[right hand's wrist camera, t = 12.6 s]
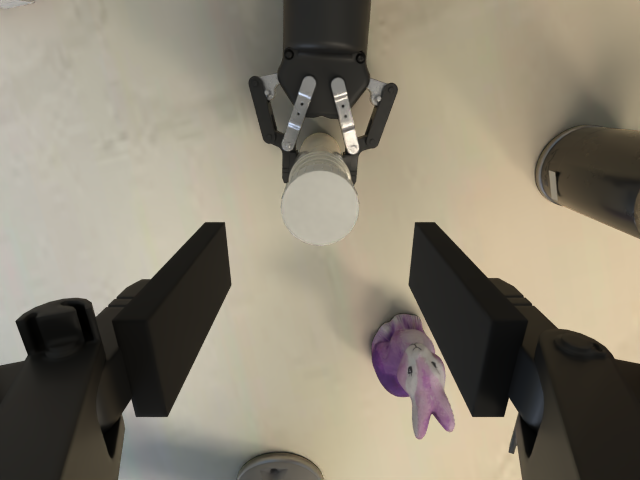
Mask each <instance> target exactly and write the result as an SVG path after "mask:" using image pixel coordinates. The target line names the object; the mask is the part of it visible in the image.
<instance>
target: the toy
mask: <svg viewBox="0 0 640 480" xmlns="http://www.w3.org/2000/svg"><path fill="white" fill-rule="evenodd" d="M32 3H35V2H34V0H0V8H8V9H9V8H14V7H18V6H23V5H27V4H32Z"/></svg>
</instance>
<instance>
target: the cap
mask: <svg viewBox="0 0 640 480" xmlns="http://www.w3.org/2000/svg"><path fill="white" fill-rule="evenodd" d="M357 195H358V194H357V192H356V189H355V187H354V185H353V183H352V180H350V179H349V178H348V176H347V174H346V173H344V172H342V171H341V170H340V168H336V167H334V166H332V165H328V164H323V163H322V164H315V163H313V164H312V165H309V166H305V167H304V168H302V169H300V170H298V171H297V172H296V173H295V174H294V175H293V176H291V179H290V181H289V183H288V182H287V185H286V187H285V191H284V193H283V196H282V202H281V213H282V218H283V221H284V223H285V225H286V227H287V228H288V230H289V231H290V232H291V233H292V234H293V235H294V236H295V237H296V238H298V239H299V240H301V241H303V242H305V243H308V244H312V245H329V244H333V243H335V242H337V241H339V240H341V239H343V238H344V237H345V236H346V235H347V234H349V232H350V231H351V230H352V229H353V227H354V226H355V223H356V221H357V218H358V214H359V201H358V198H357Z"/></svg>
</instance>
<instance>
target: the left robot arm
mask: <svg viewBox="0 0 640 480" xmlns="http://www.w3.org/2000/svg"><path fill="white" fill-rule="evenodd" d="M370 8H371V0H284V11H283V59H282V63H281V65H280V67H279V69H278V72H277V73H275V74H271V75H267V76H262V77H258V76H253V77H251V78H250V79H249V87H250V91H251V95H252V99H253V102H254V106H255V110H256V114H257V117H258V121H259V125H260V129H261V133H262V136H263V140H264V141H265V142H266V143H268V144H273V145H275V146H278V147H279V148H280V149H281V150H282V153H283V163H282V178H283V181H284V183H287V182H288V183H289V175H290V172H291V169H292V167H293V165H294V162H295V160H296V157H297V155H298V150H296V141H297V139H298V136H299V133H300V130H301V128H302V125H303V122H304V119H305V117H310V118H314V117H319V116H324V117H327V118H330V119H338V121H339V124H340V128H341V132H342V135H343V139H344V143H345V152H343V157H344V160H345V162H346V164H347V167H348V169H349V172H350V175H351V180H352V183H353V185H354V184H355V182H356V175H357V164H358V156H359V154H360V153H361V152H362V151H364V150H367V149H370V148H375V147H377V145H378V143H379V141H380V138H381V135H382V133H383V130H384V127H385V124H386V122H387V119H388V116H389V113H390V111H391V108H392V105H393V103H394V100H395V97H396V94H397V91H398V88H397V86H396V84H394V83H388V84H386V83H383V82H381V81H378V80H375V79H372V78H370V74H369V71H368V69H367V65H366V55H367V43H368V32H369V20H370ZM279 84H280V85H281V87H282V88H283V90H284V91H285V93H286V94H287V96H288V98H289V99H290V101H291V102H292V104H293V105H294V108H293V111H292V114H291V117H290V120H289V123H288V126H287V129H286V132H285V134H284V133H281V132H279V131H277V127H276V123H275V119H274V115H273V111H272V107H271V103H270V100H272V99H273V98H274V97H275V94H276V93H275V89H276V87H277V86H278V85H279ZM366 89H368V90H369V92H370V102H371V104H373V105H375V106H374V109H373V112H372V115H371V118H370V121H369V124H368V126H367V129H366V132H365V135H363V136H360V137H357V135H356V131H355V125H354V121H353V117H352V112H351V108H352V107H353V105H354V104H355V103H356V101H357V100H358V99H359V98H360V96H361V95H362V94H363V92H364V91H365V90H366ZM299 113H300V114H299ZM536 183H537V187H538V189H539V191H540V192H541V194H542V195H543V196H544V197H545V198H546V199H547V200H549V201H551V202H553V203H555V204H557V205H560V206H564V207H567V208H569V209H571V210H573V211H576V212H578V213H580V214H583V215H585V216H587V217H590V218H592V219H594V220H597V221H599V222H601V223H604V224H606V225H608V226H611V227H613V228H615V229H618V230H620V231H622V232H625V233H627V234H630V235H632V236H634V237H637V238H639V239H640V131H636V130H625V129H616V128H605V127H601V126H594V125H581V126H576V127H573V128H570V129H568V130H566V131H564V132H562V133H561V134H559V135H558V136H556V137H555V138H554V139H553V140H552V141H551V142H550V143H549V144H548V145H547V146H546V148H545V149H544V150H543V152H542V154H541V156H540V158H539V160H538V163H537V167H536Z"/></svg>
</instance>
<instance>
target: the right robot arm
mask: <svg viewBox="0 0 640 480" xmlns="http://www.w3.org/2000/svg"><path fill="white" fill-rule="evenodd" d="M230 287H231V277H230V267H229V257H228V247H227V238H226V228H225V222H205V223H204V224H203V225H202V226H201V227H200V228H199V229H198V230H197V232H196V233H195V234H194V235H193V236H192V237H191V238H190V239H189V240H188V241H187V242H186V243H185V244H184V245H183V246H182V247H181V248H180V249H179V250H178V251H177V252H176V254H175V255H174V256H173V257H172V258H171V259H170V260H169V261H168V262H167V263H166V264H165V265H164V266H163V267H162V268H161V269H160V270H159V271H158V272H157V273H156V275H155V276H154V277H153V278H152V279H142V280H140V281H138V282H136V283H134V284H132V285H130V286H129V287H127V288H126V289H125V290H124V291H123V292H121V293H120V294H119V295H118V296H117V299H114V300H113V301H112V302H111V303H110V304H109V305H108V307H106V308H105V309H104V310H103V311H102V312H101V313H100V314H99V315H98V316H96V317H95V313H94V310H93V306H92V303H91V302H90V301H88V300H87V299H82V298H68V299H61V300H56V301H52V302H48V303H46V304H43V305H40V306H38V307H35V308H33V309H31V310H30V311H28V312H26V313H24V314H23V315H22V316H21V317H19V318H18V319H17V320H16V321H15V322H16V324H17V327H18V330H19V332H20V335H21V338H22V340H23V343H24V346H25V348H26V351H27V354H28V356H27V358H26V359H25V361H21V362H16V363H11V364H6V365H1V366H0V480H118V475H119V468H120V461H121V454H122V447H123V440H124V432H125V426H124V420H123V416H122V413H123V411H124V409H125V408H126V406H127V405H128V403H129V402H130V400H131V399H132V403H133V407H134V411H135V415H136V417H168V415H169V413H170V411H171V409H172V407H173V405H174V402H175V400H176V398H177V396H178V394H179V392H180V390H181V388H182V386H183V384H184V382H185V380H186V378H187V376H188V374H189V371H190V369H191V367H192V365H193V363H194V361H195V359H196V357H197V355H198V353H199V351H200V349H201V347H202V345H203V343H204V340H205V338H206V336H207V334H208V332H209V330H210V328H211V326H212V324H213V322H214V320H215V318H216V316H217V314H218V312H219V309H220V307H221V305H222V303H223V301H224V299H225V297H226V295H227V293H228V291H229V289H230ZM409 287H410V289H411V291H412V293H413V295H414V297H415V299H416V301H417V303H418V305H419V307H420V309H421V312H422V314H423V316H424V318H425V320H426V322H427V324H428V326H429V328H430V330H431V332H432V334H433V336H434V338H435V340H436V343H437V345H438V347H439V349H440V351H441V353H442V355H443V357H444V359H445V361H446V363H447V365H448V367H449V369H450V371H451V374H452V376H453V378H454V380H455V382H456V384H457V386H458V388H459V390H460V392H461V394H462V396H463V398H464V400H465V402H466V405H467V407H468V409H469V411H470V413H471V415H472V417H504V415H505V411H506V407H507V403H508V399H509V398H510V400H511V401H512V403H513V404H514V406H515V407H516V409H517V411H518V412H519V413H518V416H517V420H516V424H515V427H514V431H513V435H512V438H511V442H510V447H509V453H512V454H514V452H515V448H516V446H518V453H519V460H520V467H521V474H522V480H640V364H638V363H633V362H627V361H622V360H617V359H614V357H613V355H612V354H611V353H610V352H609V350H608V349H607V348H606V347H605V346H603V345H602V344H600V343H599V342H597V341H596V340H594V339H592V338H590V337H588V336H585V335H583V334H581V333H577V332H574V331H570V330H565V329H558V328H557V327H556V326H555V325H554V324H553V323H552V322H551V321H550V320H548V319H547V318H546V317H545V316H544V315H543V314H542V313H541V312H540V311H539V310H538V309H537V308H536V307H535V306H532V303H531V302H530V301H529V300H527V299H526V298H524V296H523V295H522V294H521V293H520V292H519V291H518V290H517V289H516V288H515V287H514V286H512V285H510V284H508V283H507V282H505V281H503V280H501V279H499V278H487V277H486V276H485V275H484V273H483V272H482V271H481V270H480V269H479V268H478V267H477V266H476V265H475V264H474V263H473V262H472V261H471V260H470V259H469V258H468V257H467V256H466V255H465V254H464V252H463V251H462V250H461V249H460V248H459V247H458V246H457V245H456V244H455V243H454V242H453V241H452V240H451V239H450V238H449V237H448V236H447V235H446V234H445V233H444V231H443V230H442V229H441V228H440V227H439V226H438V225H437V224H436V223H435V222H415V228H414V238H413V248H412V257H411V267H410V277H409ZM237 480H324V479H323V476H322V474H321V472H320V470H319V469H318V468H317V467H316V466H315V465H314V464H313V463H312V462H310V461H309V460H307V459H305V458H303V457H300V456H297V455H294V454H289V453H269V454H264V455H260V456H258V457H255V458H253V459H251V460H250V461H248V462H247V463H246V464H245V465H244V466H243V467H242V468H241V470H240V471H239V473H238V477H237Z"/></svg>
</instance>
